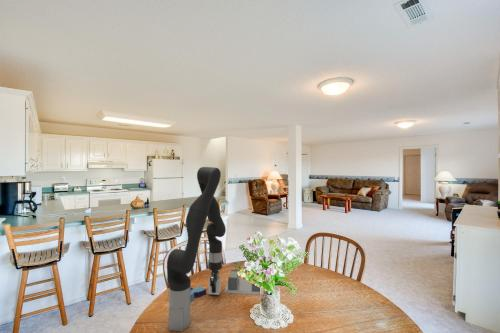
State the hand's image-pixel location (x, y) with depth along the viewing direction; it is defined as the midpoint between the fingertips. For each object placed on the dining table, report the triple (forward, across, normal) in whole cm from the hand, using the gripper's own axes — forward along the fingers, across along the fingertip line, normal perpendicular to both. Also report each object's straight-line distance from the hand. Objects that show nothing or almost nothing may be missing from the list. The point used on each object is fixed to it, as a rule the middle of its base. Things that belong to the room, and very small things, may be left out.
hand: (214, 290), depth 137 cm
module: (+1, 0, 0) cm, 1 cm away
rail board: (+2, +9, -16) cm, 19 cm away
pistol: (+3, -2, +14) cm, 15 cm away
